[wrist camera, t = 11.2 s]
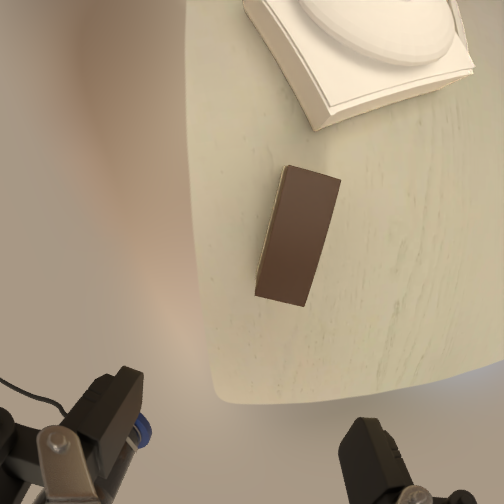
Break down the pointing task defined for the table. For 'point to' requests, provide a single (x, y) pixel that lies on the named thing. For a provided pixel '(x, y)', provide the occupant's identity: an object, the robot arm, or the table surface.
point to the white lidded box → (360, 52)
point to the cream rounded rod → (458, 22)
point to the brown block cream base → (295, 235)
